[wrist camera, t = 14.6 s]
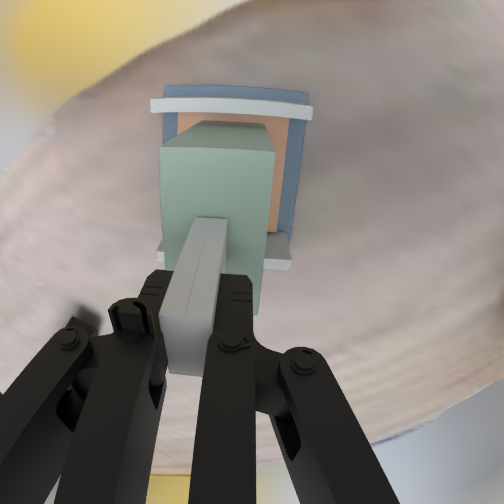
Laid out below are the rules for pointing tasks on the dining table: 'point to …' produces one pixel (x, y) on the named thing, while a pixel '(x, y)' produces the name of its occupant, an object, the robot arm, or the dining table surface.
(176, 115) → the rail cradle
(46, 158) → the dining table surface
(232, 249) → the block
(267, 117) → the snap seat
